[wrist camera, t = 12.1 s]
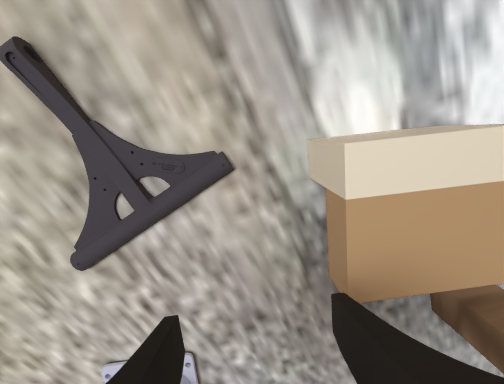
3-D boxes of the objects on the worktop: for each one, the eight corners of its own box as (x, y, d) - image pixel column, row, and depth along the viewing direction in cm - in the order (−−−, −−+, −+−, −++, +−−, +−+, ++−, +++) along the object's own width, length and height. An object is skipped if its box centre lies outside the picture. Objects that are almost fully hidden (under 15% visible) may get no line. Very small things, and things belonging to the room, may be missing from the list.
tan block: (426, 238, 23) (507, 282, 16) (313, 252, 22) (347, 304, 16) (431, 126, 21) (528, 123, 14) (307, 139, 20) (344, 143, 14)
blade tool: (467, 299, 25) (556, 363, 18) (432, 309, 25) (507, 377, 18) (458, 167, 22) (561, 183, 15) (418, 178, 22) (502, 199, 15)
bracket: (109, -14, 18) (87, -39, 15) (234, 167, 21) (234, 172, 18) (-50, 109, 19) (-97, 105, 16) (92, 263, 22) (72, 281, 19)
